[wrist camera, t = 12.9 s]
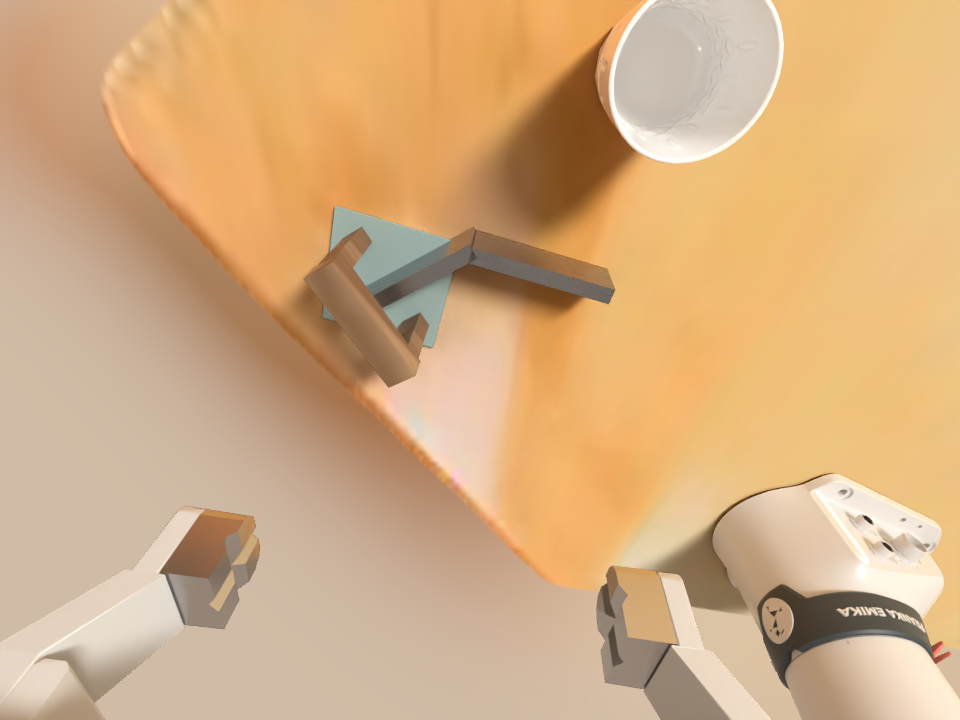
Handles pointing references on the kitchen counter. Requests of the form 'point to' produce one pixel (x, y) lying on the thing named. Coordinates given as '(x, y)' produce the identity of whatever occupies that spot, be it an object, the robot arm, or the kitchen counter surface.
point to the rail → (495, 268)
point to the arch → (366, 312)
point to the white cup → (689, 74)
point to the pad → (395, 265)
